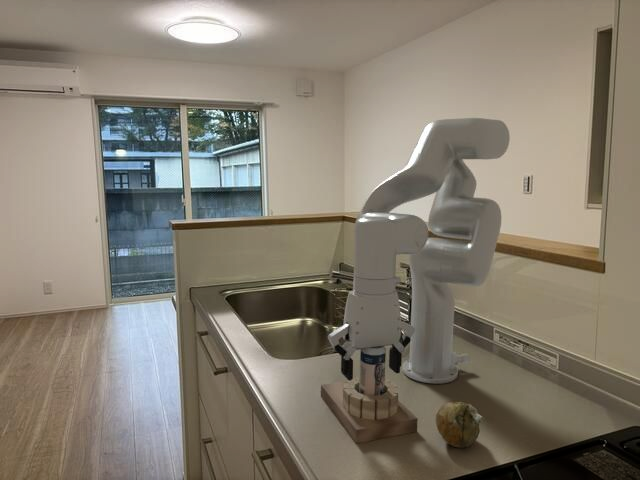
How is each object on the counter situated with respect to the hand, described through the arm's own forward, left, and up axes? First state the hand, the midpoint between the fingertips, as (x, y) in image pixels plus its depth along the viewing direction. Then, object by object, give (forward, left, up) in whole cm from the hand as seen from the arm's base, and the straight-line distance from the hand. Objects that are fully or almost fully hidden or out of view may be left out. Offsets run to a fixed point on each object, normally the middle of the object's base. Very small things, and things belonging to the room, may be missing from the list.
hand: (371, 373), depth 89 cm
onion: (-11, +12, -9) cm, 19 cm away
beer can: (0, 0, -6) cm, 7 cm away
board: (0, -2, -9) cm, 9 cm away
